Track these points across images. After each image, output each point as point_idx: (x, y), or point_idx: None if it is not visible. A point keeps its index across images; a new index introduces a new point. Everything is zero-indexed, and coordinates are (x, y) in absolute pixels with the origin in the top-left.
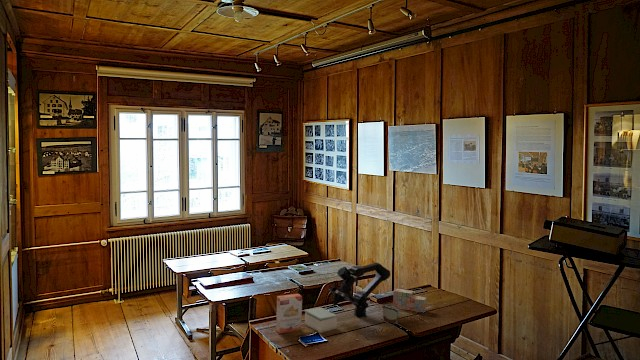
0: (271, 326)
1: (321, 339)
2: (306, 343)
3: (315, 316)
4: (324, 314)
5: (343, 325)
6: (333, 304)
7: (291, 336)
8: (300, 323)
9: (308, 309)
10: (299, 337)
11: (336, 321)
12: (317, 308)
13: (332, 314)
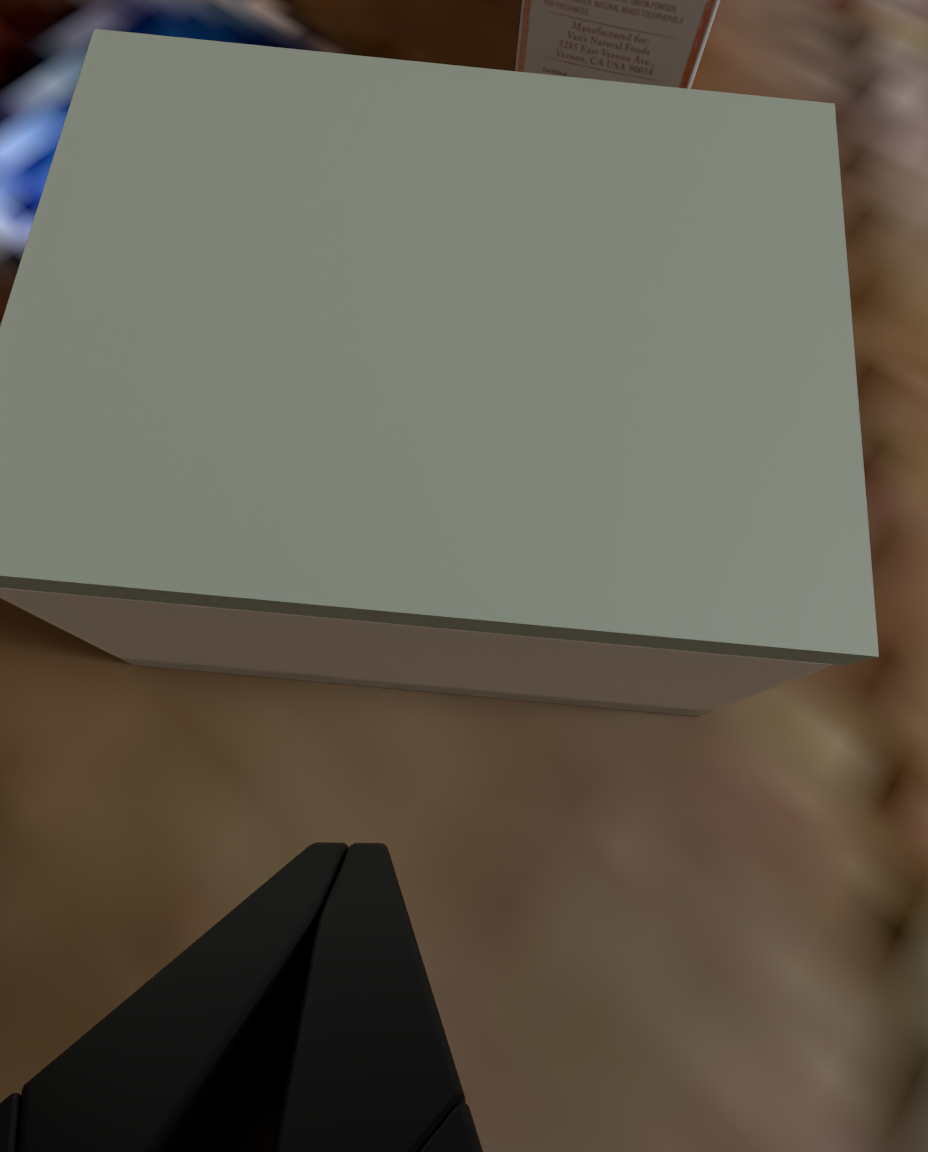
0: (860, 15)
1: (29, 189)
2: (107, 3)
3: (313, 66)
4: (250, 297)
5: (127, 932)
6: (357, 846)
7: (417, 4)
8: (517, 53)
9: (833, 205)
10: (319, 45)
11: (52, 621)
12: (818, 479)
13: (91, 501)
